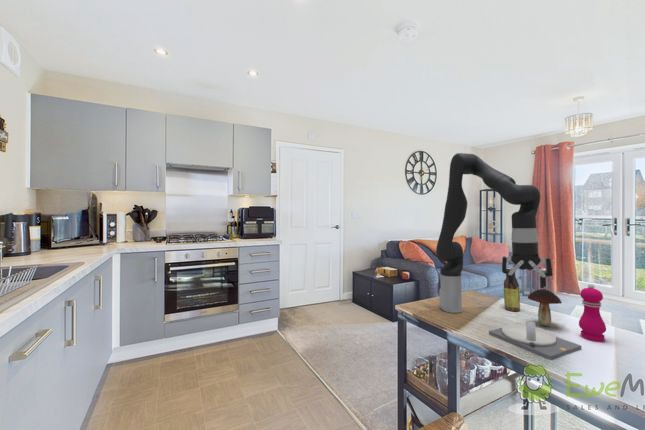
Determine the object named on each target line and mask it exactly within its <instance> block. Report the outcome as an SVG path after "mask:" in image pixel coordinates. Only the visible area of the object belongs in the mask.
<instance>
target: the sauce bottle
mask: <svg viewBox="0 0 645 430" xmlns="http://www.w3.org/2000/svg"><path fill="white" fill-rule="evenodd" d="M511 268H512V267H506V270H508V271H509V270H510V269H511ZM516 272H517V270H516V271H515V272H514V273H513V274H512V275H513V286H511V284H509V282H508V275H507V274H505V279H504V281H503V298H504V299H503V300H504V301H503V302H504V308H505V310H507V311H511V312H519V311H520V309H521V308H520V307H521V302H520V301H521V297H520V295H521V294H520V284H519V282H518V280H517V278H516Z"/></svg>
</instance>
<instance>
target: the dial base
mask: <svg viewBox="0 0 645 430" xmlns="http://www.w3.org/2000/svg"><path fill="white" fill-rule="evenodd" d="M488 334H489V335H490V336H493V337H494V338H498V339H500V340H502V341H504V342H507V343H509V344H512V345H513V346H517V347H519V348H521V349H524V350H526V351H528V352H529V353H530V352H531V353H532V354H535V355H538V356H541V357H542V358H544V359H547V360H549V361H552V360H556V359H558V358H561V357H563V356H566V355H569V354H572V353H575V352H577V351H580V350H582V345H581V344H578V343H575V342H572V341H570V340H566V339H563V338H560V337H557V336H555V337H556V343H555V344H554V345H550V346H536V345H535V347H534V346H531V345H530V344H525V343H521V342H518V341H515V340H513V339H510V338H508V337H507V336H505V335H504V334H503V333H502V327H500V328H495V329H492V330H488Z"/></svg>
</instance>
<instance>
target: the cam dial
mask: <svg viewBox="0 0 645 430" xmlns="http://www.w3.org/2000/svg"><path fill="white" fill-rule="evenodd" d="M501 328H502V333H503V334H504V335H505V336H507V337H508V338H510V339H513V340H515V341H518V342H521V343H525V344H530V345H531V346H534V347H535V345H536V346H550V345H554V344H555V343H556V337H557V336H556V335H555V334H553V333H552V332H551V331H548V330H546V329H543V328H541V327H538V326H536V321H535V322H534V321H531V320H526V322H525V324H524V323H523V324H521V323H507V324H504V325H502V326H501Z"/></svg>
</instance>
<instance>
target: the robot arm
mask: <svg viewBox="0 0 645 430" xmlns="http://www.w3.org/2000/svg"><path fill="white" fill-rule="evenodd" d="M448 175H449V177H448V187H447V194H446V195H447V196H446V199H445V200H446V201H445V205H444V212H443V217H442V218H443V220H442V222H441V223H442V225H441V229H440V234H439V237H438V240H437V244H436V248H435V249H436V250H435V253H436V257H437V259H438V260H439V261H440V262H446V263H445V265H443V266H442V267H440V271H439V273H440V274H439V275H440V288H439V290H438V292H439V293H438V294H439V295H438V297H439V309H441V310H442V311H444V312H447V313H450V314H451V313H453V314H458V313H462V311H463V297H462V296H463V294H462V291H463V290H462V271H463V267H464V251H463V249H464V248H463V246H462V244H460V243H459V242H458V241H453V239H454V237H455V234H456V233H457V231H458V229H460V226H461V225H462V224H463V222H464V221H465V218H466V215H467V209H468V200H467V196H466V194H465V191H464V188H463V177H464V175H473V176H476V177H479V178H480V179H481V180H482V182H483V183H484V185H485V186H487V188H489V189H491V190H493V191H494V192H496V193H497V194H499V196H500V197H501V198H502V199H503V200H504V201H505V202H506V203H509V204H511V205H514V206H515V205H516V206H519V209H518V211H515V212H513V213H512V214H511V238H510V239H511V253H512V255H511V257H509V256H505V255H504V256H502V258H501V260H502V262H501V272H502V274H505V275H506V274H507V275H508V282H509V284H511V286H513V275H512V274H513V273H514V272H515V271H516V272H517V270H521V271H523V270H528V271H533V270H535V271H536V272H537V273H538V274H539V287H540V288H539V289H544V288H545V287H546V286H547V283H546V282H547V281H546V278H547V277H552V276H553V268H552V267H553V266H552V261H551V259H550V258H549V257H542V258H541V257H540V256H539V255H540V253H539V238H538V230H537V218H536V216H537V214H538V213H537V212H538V209H539V205H540V201H541V192H540V191H539V188H538V187H537V186H536V185H532V184H516V181H515V179H514V178H513V177H511V176H509V175H507V174H505V173H503V172H501V171H500V170H497V169H495V168H494V167H492V166H490V165H489V164H488V163H487V162H485V161H484V160H483V159H482V158H480V157H479V156H478V155H476V154H473V153H466V152H465V153H463V152H461V153H460V152H459V153H458V152H457V153H455V154H454V155H453V156H452V158H451V160H450V164H449V174H448ZM510 261H511V263H513V265H512V266H511V267H510V268H511V269H510V270H509V271H508V270H506V268H507V264H508V263H510ZM541 262H542V264H543V265H545V272H543V271H542V270H541V269H540V267H538V265H539V264H540V263H541ZM516 272H515V273H516Z"/></svg>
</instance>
